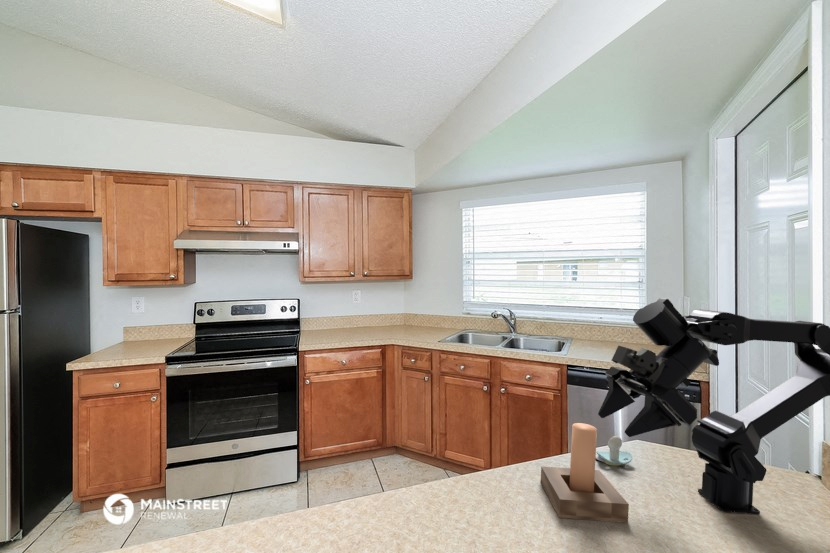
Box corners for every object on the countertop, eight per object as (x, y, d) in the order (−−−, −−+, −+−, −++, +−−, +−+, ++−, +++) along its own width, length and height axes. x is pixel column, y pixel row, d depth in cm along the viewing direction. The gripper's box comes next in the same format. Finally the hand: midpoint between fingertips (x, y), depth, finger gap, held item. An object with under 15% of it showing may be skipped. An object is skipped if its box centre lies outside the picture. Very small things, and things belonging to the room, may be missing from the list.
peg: (582, 490, 71) (585, 422, 71) (598, 502, 67) (602, 430, 67) (564, 492, 70) (567, 423, 70) (579, 505, 66) (583, 432, 66)
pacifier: (587, 456, 87) (603, 468, 81) (588, 428, 87) (604, 438, 81) (618, 456, 88) (636, 468, 82) (618, 428, 88) (636, 438, 82)
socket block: (598, 485, 74) (599, 470, 74) (627, 522, 63) (628, 504, 63) (540, 481, 74) (541, 466, 74) (559, 517, 63) (560, 499, 63)
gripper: (615, 326, 79) (560, 379, 78) (678, 338, 60) (607, 408, 60) (653, 366, 78) (599, 419, 78) (728, 390, 60) (657, 460, 59)
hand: (612, 424), depth 69 cm, fingers open, 9 cm apart
